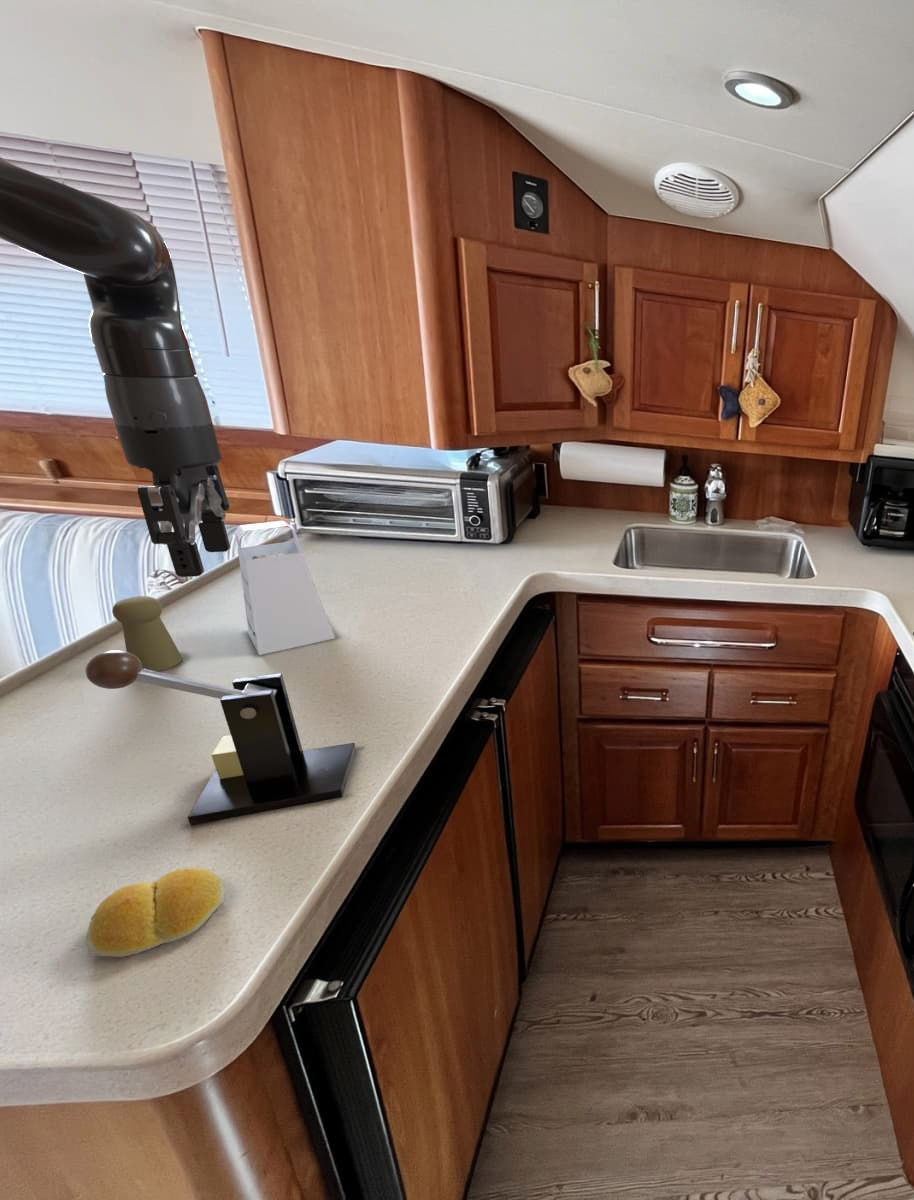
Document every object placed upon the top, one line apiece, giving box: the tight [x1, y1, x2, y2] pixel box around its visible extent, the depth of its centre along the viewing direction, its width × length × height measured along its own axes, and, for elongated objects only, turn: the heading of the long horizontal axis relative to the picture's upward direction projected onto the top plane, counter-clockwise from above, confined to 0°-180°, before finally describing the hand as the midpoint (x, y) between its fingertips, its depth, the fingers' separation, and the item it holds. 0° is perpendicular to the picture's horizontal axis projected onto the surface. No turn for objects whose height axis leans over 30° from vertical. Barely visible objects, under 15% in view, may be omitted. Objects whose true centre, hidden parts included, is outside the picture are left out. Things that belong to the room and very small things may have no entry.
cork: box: [111, 595, 184, 672], centre depth 97 cm, size 6×6×11 cm
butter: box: [211, 734, 243, 779], centre depth 77 cm, size 4×4×4 cm
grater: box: [234, 520, 336, 656], centre depth 107 cm, size 10×10×20 cm
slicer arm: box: [85, 649, 277, 700], centre depth 69 cm, size 15×4×4 cm, turn 115°
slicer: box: [187, 673, 357, 826], centre depth 74 cm, size 14×10×14 cm
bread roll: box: [85, 867, 226, 958], centre depth 59 cm, size 8×9×4 cm
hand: (205, 562), depth 73 cm, fingers open, 8 cm apart
